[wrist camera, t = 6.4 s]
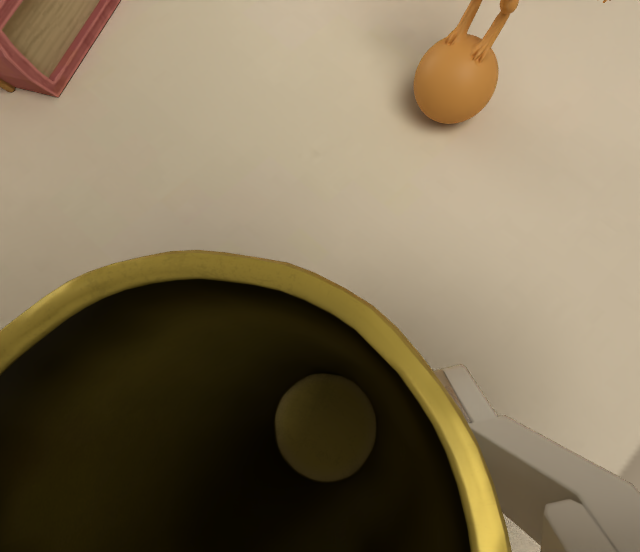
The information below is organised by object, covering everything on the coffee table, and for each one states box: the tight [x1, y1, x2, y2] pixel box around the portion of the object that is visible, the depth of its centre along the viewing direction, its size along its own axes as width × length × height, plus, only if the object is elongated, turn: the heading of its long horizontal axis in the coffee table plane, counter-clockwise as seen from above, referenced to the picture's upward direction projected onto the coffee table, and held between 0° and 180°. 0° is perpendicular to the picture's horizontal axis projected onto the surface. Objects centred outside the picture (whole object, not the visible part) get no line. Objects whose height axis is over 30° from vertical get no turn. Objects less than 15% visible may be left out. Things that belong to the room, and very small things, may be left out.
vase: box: [0, 250, 512, 552], centre depth 9 cm, size 6×6×14 cm
